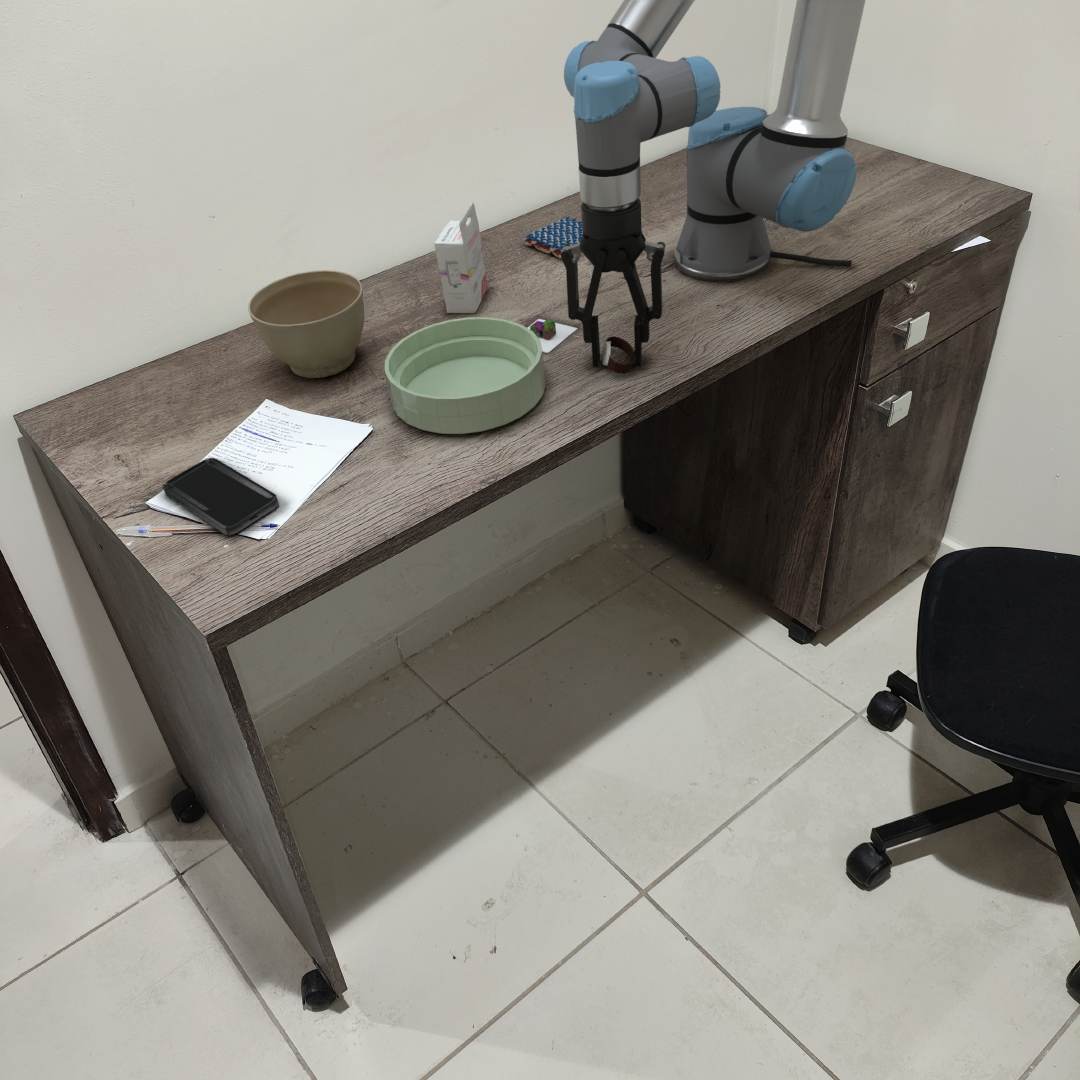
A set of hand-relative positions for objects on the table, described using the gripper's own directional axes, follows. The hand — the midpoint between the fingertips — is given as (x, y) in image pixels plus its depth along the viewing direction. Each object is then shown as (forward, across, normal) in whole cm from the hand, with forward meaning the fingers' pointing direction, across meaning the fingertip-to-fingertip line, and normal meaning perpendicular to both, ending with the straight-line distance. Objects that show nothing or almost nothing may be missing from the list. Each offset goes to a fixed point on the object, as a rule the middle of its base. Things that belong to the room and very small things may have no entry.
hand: (617, 361), depth 137 cm
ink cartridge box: (+1, +26, -19) cm, 32 cm away
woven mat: (+1, +13, -40) cm, 42 cm away
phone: (0, +46, +33) cm, 57 cm away
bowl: (0, +20, +8) cm, 21 cm away
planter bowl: (0, +44, 0) cm, 44 cm away
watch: (0, 0, 0) cm, 1 cm away
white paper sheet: (+1, +12, -8) cm, 14 cm away
